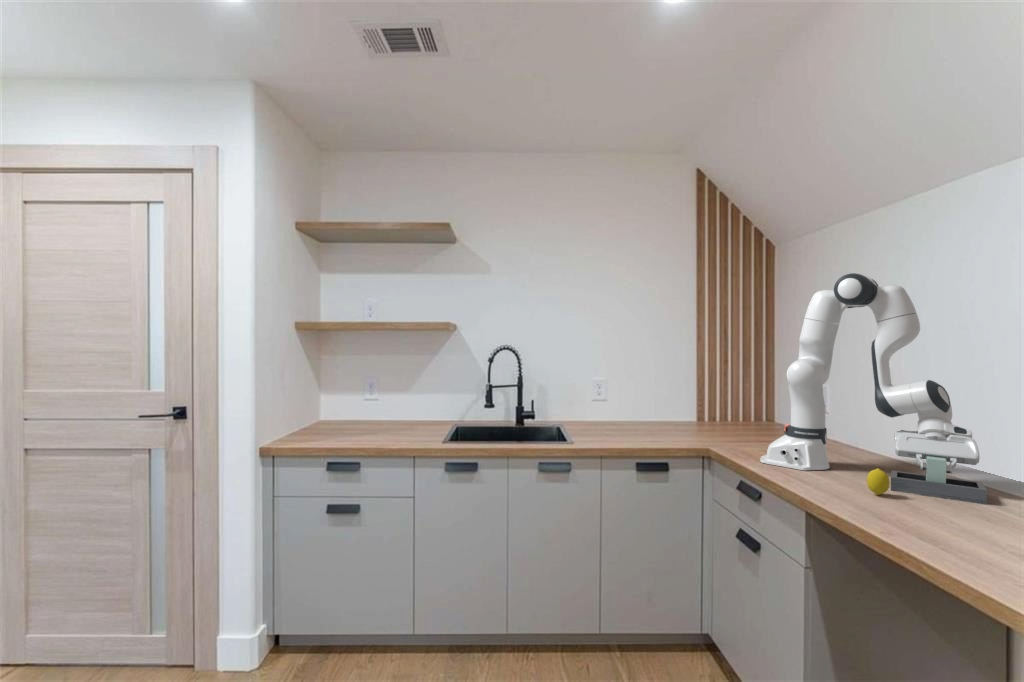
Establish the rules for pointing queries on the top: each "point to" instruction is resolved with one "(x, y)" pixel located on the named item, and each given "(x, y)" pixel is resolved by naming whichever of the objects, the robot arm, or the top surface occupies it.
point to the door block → (936, 469)
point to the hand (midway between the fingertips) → (936, 470)
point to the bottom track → (939, 487)
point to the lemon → (878, 481)
